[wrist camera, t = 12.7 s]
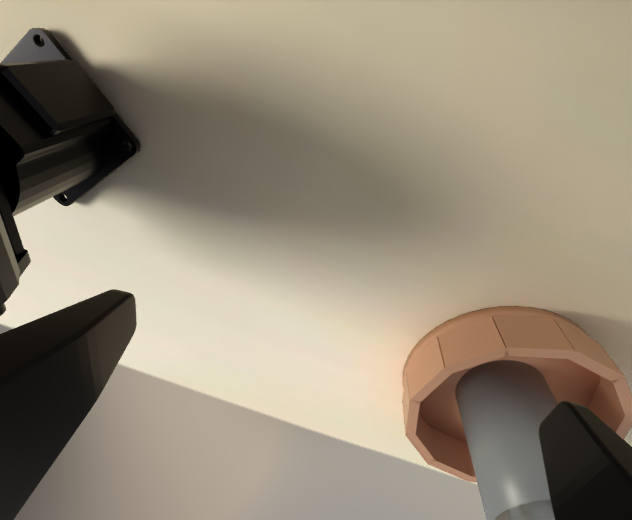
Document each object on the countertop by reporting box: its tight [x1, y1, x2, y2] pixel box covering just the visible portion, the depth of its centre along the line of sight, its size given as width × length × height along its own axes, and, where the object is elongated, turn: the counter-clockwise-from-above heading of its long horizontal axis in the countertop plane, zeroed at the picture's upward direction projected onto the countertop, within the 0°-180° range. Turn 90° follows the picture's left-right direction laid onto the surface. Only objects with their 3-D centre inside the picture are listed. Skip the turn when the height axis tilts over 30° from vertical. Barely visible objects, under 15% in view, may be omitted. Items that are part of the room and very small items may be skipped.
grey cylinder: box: [455, 360, 558, 520], centre depth 20 cm, size 6×6×9 cm
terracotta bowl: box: [402, 306, 632, 482], centre depth 23 cm, size 12×12×4 cm
